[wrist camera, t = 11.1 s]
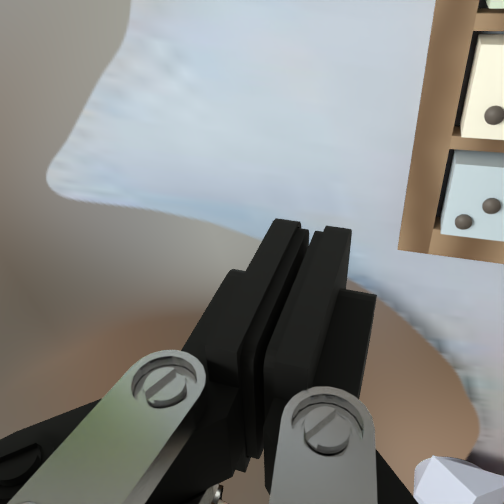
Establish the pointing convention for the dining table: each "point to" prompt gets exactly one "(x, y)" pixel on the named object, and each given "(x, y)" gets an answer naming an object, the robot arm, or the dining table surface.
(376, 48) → the dining table surface
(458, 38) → the wooden compartment tray
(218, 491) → the coffee press
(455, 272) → the dining table surface
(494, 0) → the pale green drawer
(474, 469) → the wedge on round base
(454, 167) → the pale blue drawer
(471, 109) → the cream drawer
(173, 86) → the dining table surface
